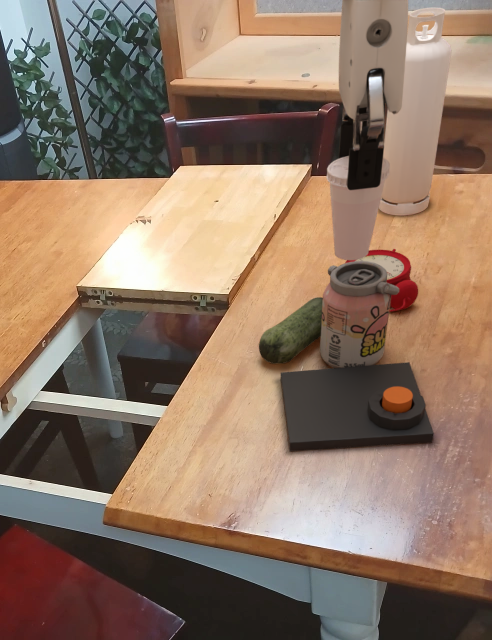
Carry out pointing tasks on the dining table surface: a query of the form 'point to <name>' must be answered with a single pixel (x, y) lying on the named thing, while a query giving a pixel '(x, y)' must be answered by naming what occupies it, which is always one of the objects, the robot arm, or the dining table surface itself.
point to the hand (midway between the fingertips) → (358, 171)
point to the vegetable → (292, 333)
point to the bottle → (416, 117)
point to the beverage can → (355, 314)
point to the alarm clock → (395, 276)
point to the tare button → (397, 399)
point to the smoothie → (353, 210)
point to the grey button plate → (351, 408)
